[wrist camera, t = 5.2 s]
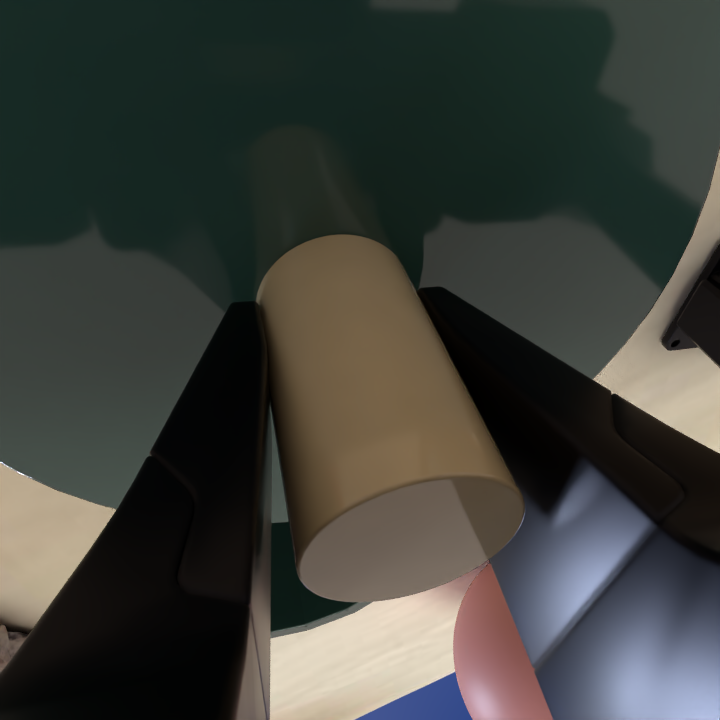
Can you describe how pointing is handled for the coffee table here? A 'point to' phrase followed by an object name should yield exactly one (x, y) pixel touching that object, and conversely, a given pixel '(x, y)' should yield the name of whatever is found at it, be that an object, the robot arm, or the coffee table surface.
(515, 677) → the balloon
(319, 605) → the canister
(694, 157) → the lid
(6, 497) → the coffee table surface
